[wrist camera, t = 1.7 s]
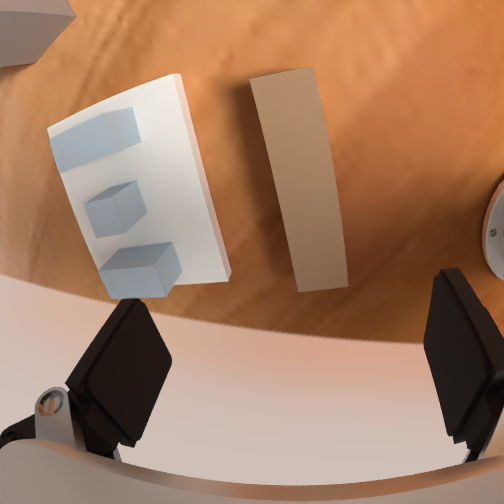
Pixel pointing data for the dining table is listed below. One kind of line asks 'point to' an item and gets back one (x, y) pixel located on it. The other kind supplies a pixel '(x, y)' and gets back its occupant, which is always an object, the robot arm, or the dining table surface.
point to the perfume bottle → (30, 28)
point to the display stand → (141, 191)
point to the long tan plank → (303, 176)
